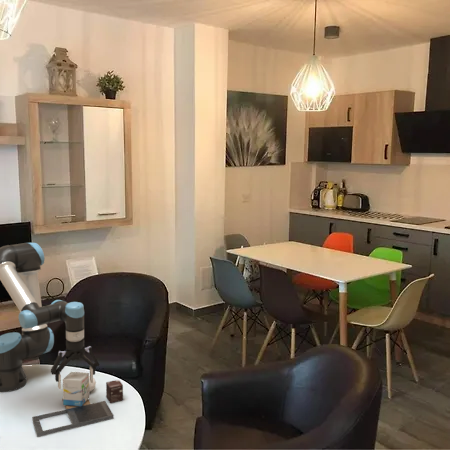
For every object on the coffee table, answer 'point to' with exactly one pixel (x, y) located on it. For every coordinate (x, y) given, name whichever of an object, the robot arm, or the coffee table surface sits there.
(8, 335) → the robot arm
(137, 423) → the coffee table surface
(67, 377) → the ink box
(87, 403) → the pad
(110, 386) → the box
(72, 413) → the grey flat frame
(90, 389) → the ornament
